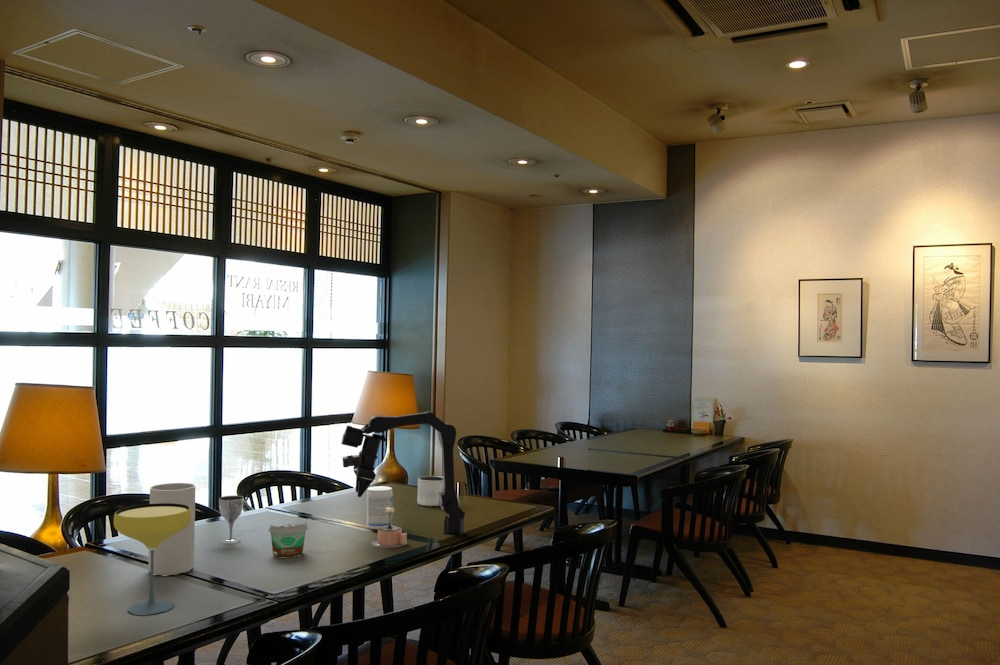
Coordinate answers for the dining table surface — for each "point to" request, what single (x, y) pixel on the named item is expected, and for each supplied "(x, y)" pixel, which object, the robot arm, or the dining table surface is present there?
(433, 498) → the planter
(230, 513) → the wine glass
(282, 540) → the food container
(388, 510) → the plunger
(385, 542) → the orange slatted barrel
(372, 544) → the disc
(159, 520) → the cocktail glass
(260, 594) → the dining table surface
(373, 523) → the supplement tub
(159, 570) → the cylinder vase
